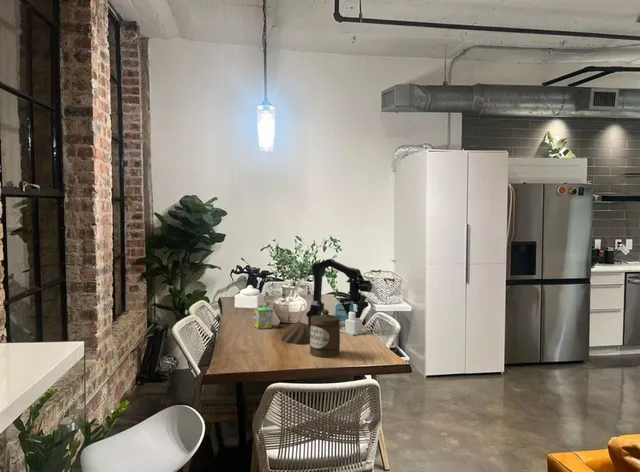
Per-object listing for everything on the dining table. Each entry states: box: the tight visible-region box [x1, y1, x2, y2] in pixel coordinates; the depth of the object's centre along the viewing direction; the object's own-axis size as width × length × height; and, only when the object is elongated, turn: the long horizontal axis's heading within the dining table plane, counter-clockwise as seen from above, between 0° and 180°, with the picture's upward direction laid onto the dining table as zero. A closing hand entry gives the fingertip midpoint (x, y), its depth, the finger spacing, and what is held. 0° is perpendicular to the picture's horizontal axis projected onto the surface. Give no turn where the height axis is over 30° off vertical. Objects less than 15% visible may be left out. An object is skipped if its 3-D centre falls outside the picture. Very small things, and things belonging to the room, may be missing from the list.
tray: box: [340, 329, 367, 336], centre depth 290 cm, size 11×11×1 cm
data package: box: [333, 302, 355, 322], centre depth 322 cm, size 12×4×12 cm, turn 101°
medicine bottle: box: [344, 310, 363, 333], centre depth 290 cm, size 7×7×12 cm
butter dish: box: [233, 284, 265, 309], centre depth 371 cm, size 18×18×16 cm
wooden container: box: [309, 308, 341, 358], centre depth 244 cm, size 15×15×22 cm
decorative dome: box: [280, 321, 311, 345], centre depth 271 cm, size 19×20×10 cm
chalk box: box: [253, 302, 274, 330], centre depth 299 cm, size 9×9×15 cm
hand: (353, 316), depth 290 cm, fingers open, 9 cm apart
